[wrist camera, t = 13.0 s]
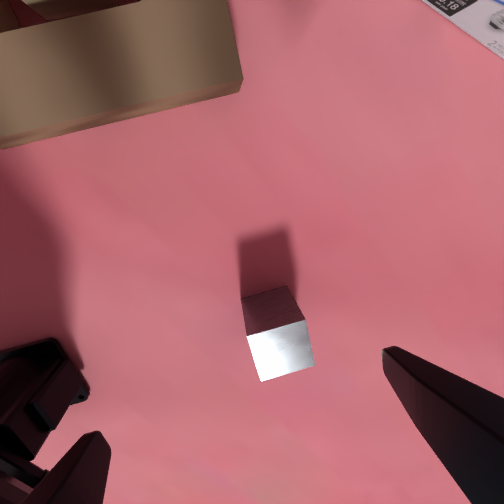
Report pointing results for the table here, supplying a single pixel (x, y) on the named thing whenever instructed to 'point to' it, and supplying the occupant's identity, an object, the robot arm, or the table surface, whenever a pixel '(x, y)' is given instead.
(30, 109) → the walnut sleeve block
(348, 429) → the table surface
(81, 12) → the maple pin
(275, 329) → the metal stub
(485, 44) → the light bulb box
